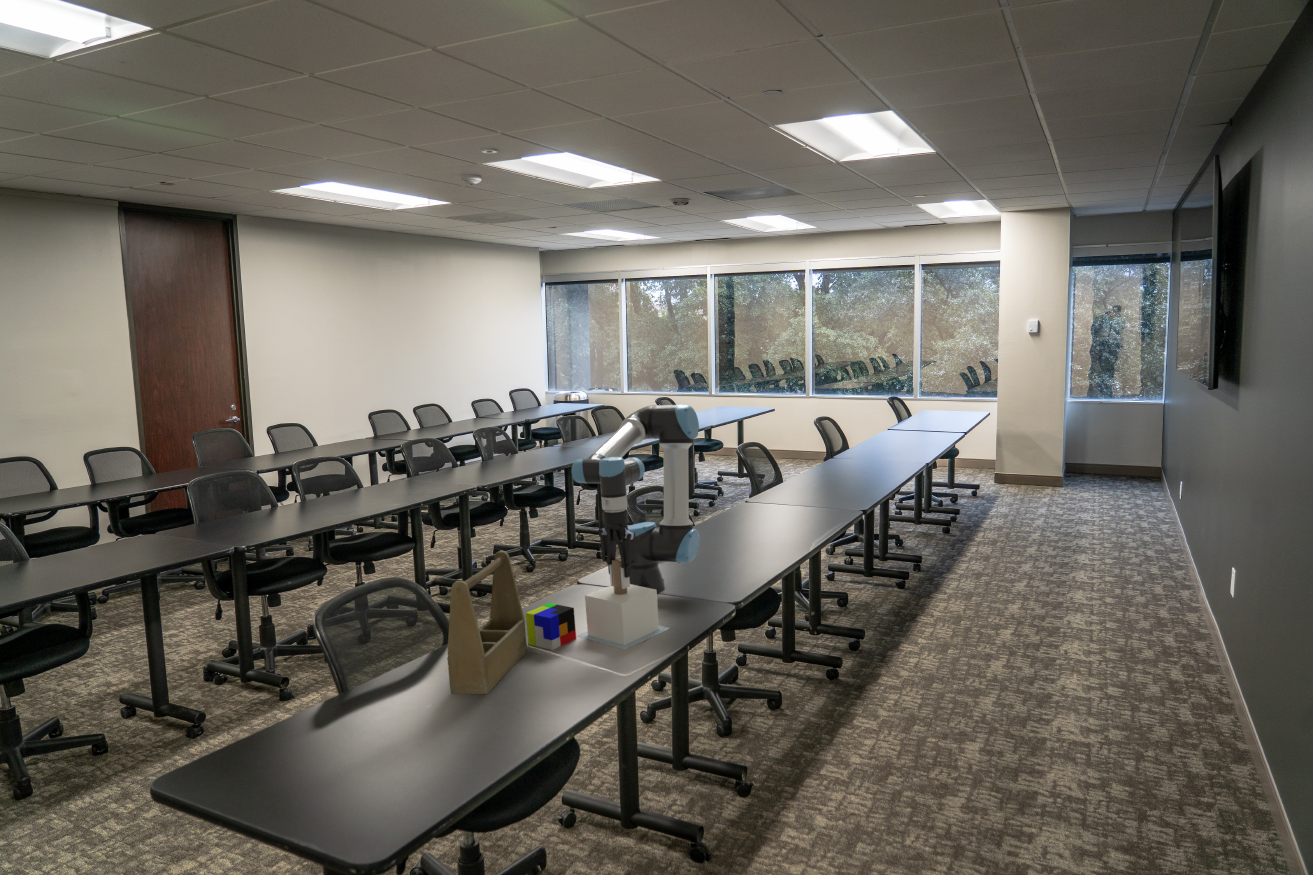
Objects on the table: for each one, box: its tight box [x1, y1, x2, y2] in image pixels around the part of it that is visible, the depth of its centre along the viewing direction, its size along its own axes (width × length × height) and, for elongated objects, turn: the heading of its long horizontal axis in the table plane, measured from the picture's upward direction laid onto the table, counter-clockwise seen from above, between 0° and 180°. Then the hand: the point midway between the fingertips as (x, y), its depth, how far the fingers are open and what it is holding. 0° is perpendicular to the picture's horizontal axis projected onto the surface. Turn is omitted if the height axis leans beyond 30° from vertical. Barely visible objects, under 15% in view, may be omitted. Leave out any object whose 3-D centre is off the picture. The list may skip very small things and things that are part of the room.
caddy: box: [447, 550, 528, 695], centre depth 226 cm, size 29×11×30 cm, turn 168°
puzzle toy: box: [525, 602, 577, 651], centre depth 246 cm, size 10×10×10 cm
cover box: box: [584, 557, 660, 645], centre depth 249 cm, size 15×15×22 cm
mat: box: [576, 625, 671, 650], centre depth 250 cm, size 20×20×1 cm
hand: (620, 586), depth 249 cm, fingers closed on cover box, 4 cm apart
